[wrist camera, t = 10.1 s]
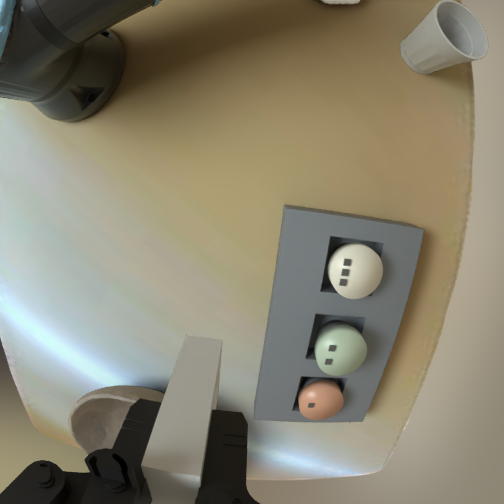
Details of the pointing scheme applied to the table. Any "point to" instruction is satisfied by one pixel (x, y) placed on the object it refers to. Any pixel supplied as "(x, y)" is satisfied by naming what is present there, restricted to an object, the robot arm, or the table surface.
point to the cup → (444, 39)
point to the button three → (354, 270)
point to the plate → (340, 1)
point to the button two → (339, 348)
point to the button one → (319, 398)
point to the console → (331, 308)
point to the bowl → (105, 414)
